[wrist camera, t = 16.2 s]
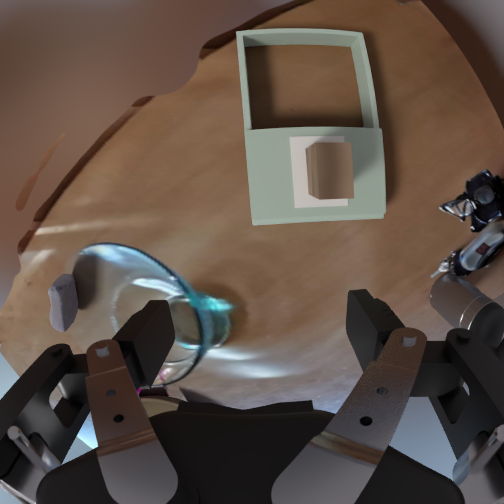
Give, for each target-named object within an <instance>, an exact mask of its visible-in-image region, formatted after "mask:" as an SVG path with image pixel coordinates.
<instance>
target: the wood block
mask: <svg viewBox="0 0 504 504" xmlns="http://www.w3.org/2000/svg"><path fill="white" fill-rule="evenodd" d="M305 151H306V164H307V179H308V194H309V195H311V196H313V197H315V198H317V199H319V200H325V199H354V181H353V163H352V149H351V143H350V142H318V143H314V144H312V145H311V146H309V147H308V148H306V149H305Z"/></svg>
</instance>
